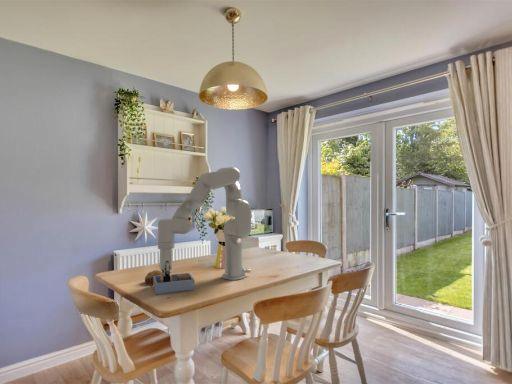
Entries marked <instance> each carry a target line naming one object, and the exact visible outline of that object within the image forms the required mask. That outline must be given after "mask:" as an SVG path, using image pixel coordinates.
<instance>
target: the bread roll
mask: <svg viewBox="0 0 512 384" xmlns="http://www.w3.org/2000/svg"><path fill="white" fill-rule="evenodd" d="M161 273H162V271H161V270H159V269H155V270H151V271H149V272H148V273H147V274H146V276H145V277H144V283H145V285H148V286H153V276H159V275H161Z"/></svg>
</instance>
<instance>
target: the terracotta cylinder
mask: <svg viewBox="0 0 512 384" xmlns="http://www.w3.org/2000/svg"><path fill="white" fill-rule="evenodd" d="M161 272H162V271H161ZM172 274H173V273H172V272H171V271H170V276H171V278H170V282H172ZM163 276H164V272H162V273H161V283H163Z"/></svg>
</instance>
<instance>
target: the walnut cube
mask: <svg viewBox="0 0 512 384" xmlns="http://www.w3.org/2000/svg"><path fill="white" fill-rule="evenodd" d="M180 274H181V273H180ZM182 280H189V276H188V274H181V275H177V281H182Z"/></svg>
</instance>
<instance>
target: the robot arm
mask: <svg viewBox="0 0 512 384" xmlns="http://www.w3.org/2000/svg"><path fill="white" fill-rule="evenodd" d="M240 178H241V172H240V170H239V169H238V168H236V167H234V166H229V167H221V168H218V169H217V170H216V171H211V172H204V173H201V174H200V175H199V177H198V178H197V180H196V182H195V184H194V185H193V187H192V189H191V191H190V193H189V194H188V196H187V197H186V198H185V199H184V200H183V202H182V203H181V204H180V205H179V207H178V208H177V209H176V210H175V212H174V214H173V215H172V217H171V218H163V219H162V218H161V219H159V220H158V223H157V249H158V250H159V269H160V270H159V271H161V272H164V276H163V282H170V278H171V276H170V272H171V271H172V263H173V249H175V234H176V235H187V234H188V233H190V232H191V231H192V228H193V225H192V222H191V221H190V220H189V219H188V218H189V217H190V216H191V214H192V213H193V212H194V211H196V210H197V209H199V208H202V206H203V205H204V204H205V202H206V200H207V198H208V197H209V195H210V193H211V191H212V190H215V189H216V190H217V189H220V188H224V191H225V211H226V214H227V215H228V216H230V217H233V218H230V219H227V220H226V221H225V223H224V225H223V235H224V273H222V275H221V278H222V279H223V280H227V281H229V280H230V281H237V280H242V279H245V277H246V275H245V274H246V273H247V274H249V273H251V268H248V269H247V268H243V240H242V239H246V238H248V237H249V236H250V234H251V230H252V209H251V206H250V203H249V202H248V201H247V200H244V199H243V198H242V188H241V185H240V182H239V180H240Z"/></svg>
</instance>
